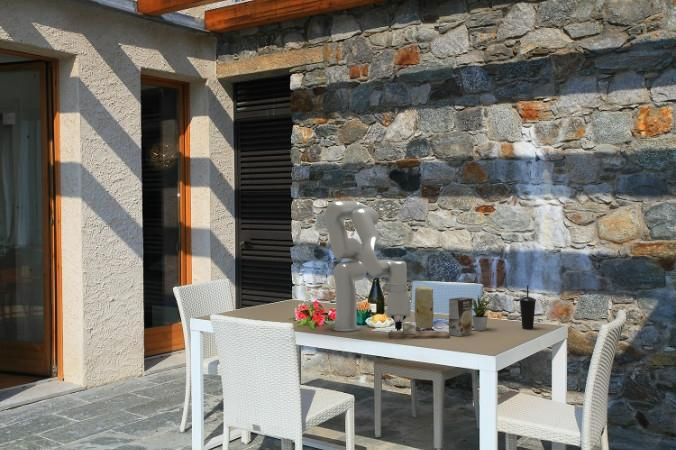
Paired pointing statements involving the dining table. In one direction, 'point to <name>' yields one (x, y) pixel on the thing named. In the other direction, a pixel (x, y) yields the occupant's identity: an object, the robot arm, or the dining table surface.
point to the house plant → (480, 314)
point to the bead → (409, 328)
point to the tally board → (419, 335)
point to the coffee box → (460, 316)
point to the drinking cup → (527, 311)
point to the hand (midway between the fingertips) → (398, 330)
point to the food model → (424, 307)
